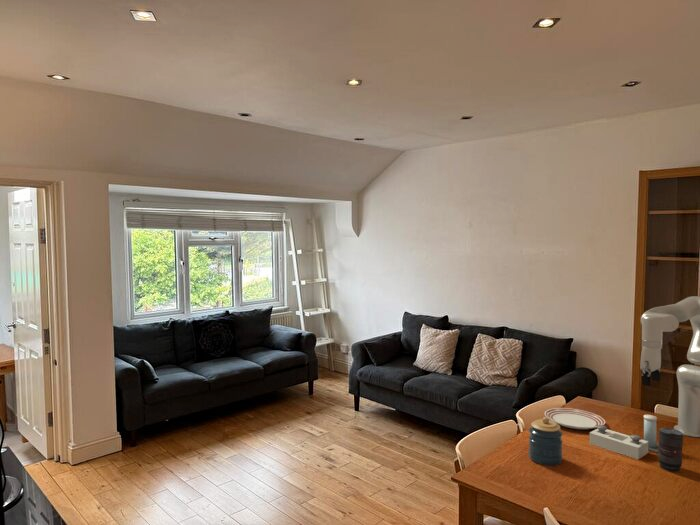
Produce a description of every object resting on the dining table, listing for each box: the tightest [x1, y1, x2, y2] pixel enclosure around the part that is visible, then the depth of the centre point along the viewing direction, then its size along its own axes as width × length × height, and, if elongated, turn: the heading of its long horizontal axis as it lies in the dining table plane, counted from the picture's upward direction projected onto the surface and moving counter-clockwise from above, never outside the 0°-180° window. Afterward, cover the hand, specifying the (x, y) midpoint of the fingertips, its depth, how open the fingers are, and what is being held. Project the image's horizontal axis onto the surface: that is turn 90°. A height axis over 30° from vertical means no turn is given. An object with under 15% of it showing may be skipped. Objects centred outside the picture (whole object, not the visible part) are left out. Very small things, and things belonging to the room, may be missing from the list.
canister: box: [528, 416, 564, 466], centre depth 200 cm, size 13×13×18 cm
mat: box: [648, 443, 659, 454], centre depth 211 cm, size 9×9×1 cm
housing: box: [588, 428, 649, 460], centre depth 210 cm, size 20×10×5 cm, turn 37°
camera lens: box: [657, 427, 684, 473], centre depth 191 cm, size 8×8×15 cm
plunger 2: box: [629, 434, 642, 444], centre depth 204 cm, size 4×4×6 cm
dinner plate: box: [544, 407, 606, 430], centre depth 240 cm, size 28×27×3 cm
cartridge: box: [643, 414, 658, 448], centre depth 211 cm, size 5×5×13 cm
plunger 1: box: [596, 424, 608, 434], centre depth 216 cm, size 4×4×6 cm
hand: (651, 383), depth 210 cm, fingers open, 9 cm apart
